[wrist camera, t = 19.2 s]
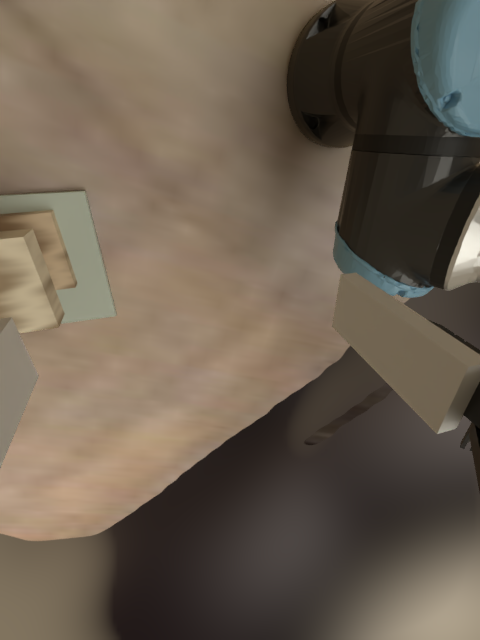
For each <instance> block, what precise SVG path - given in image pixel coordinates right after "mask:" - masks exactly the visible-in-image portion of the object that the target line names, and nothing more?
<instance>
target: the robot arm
mask: <svg viewBox="0 0 480 640" xmlns="http://www.w3.org/2000/svg"><path fill="white" fill-rule="evenodd" d="M287 93H288V101H289V106H290V110H291V113H292V116H293V118H294V120H295V122H296V124H297V126H298V127H299V129H300V130H301V132H302V133H303V134H304V135H305V136H306V137H307V138H308V139H310V140H311V141H313V142H314V143H316V144H319V145H321V146H326V147H335V148H341V147H348V146H352V145H353V147H352V151H351V156H350V161H349V166H348V171H347V176H346V181H345V186H344V191H343V196H342V201H341V206H340V211H339V216H338V220H337V222H336V224H335V233H336V235H335V242H334V249H333V256H334V260H335V262H336V264H337V265H338V267H339V269H340V270H341V271H342V272H343V273H344V274H341V276H340V282H339V288H338V294H337V300H336V306H335V312H334V318H333V324H332V327H333V328H334V329H335V330H336V331H337V332H338V333H339V334H340V335H341V336H342V337H343V338H344V339H345V340H346V341H347V342H348V343H349V344H350V345H351V346H352V347H353V348H354V349H355V350H356V351H357V352H358V353H359V355H361V356H362V358H363V359H365V361H366V362H367V363H368V364H369V365H370V366H371V367H372V368H373V369H374V370H375V371H376V372H377V373H378V374H379V375H380V376H381V377H382V378H383V379H384V380H385V381H386V382H387V383H388V384H389V385H390V386H391V387H392V388H393V389H394V390H395V391H396V392H397V394H399V395H400V397H401V398H402V399H403V400H404V401H405V402H406V403H407V404H408V405H409V406H410V407H411V408H412V409H413V410H414V411H415V412H416V413H417V414H418V415H419V416H420V417H421V418H422V419H423V420H424V421H425V422H426V423H427V424H428V425H429V426H430V427H431V428H432V429H433V430H434V431H435V432H436V434H439V433H442V432H446V431H450V430H453V429H457V427H458V425H459V423H460V421H461V419H462V417H463V415H464V416H466V417H467V418H468V419H469V420H470V421H471V422H472V423H471V425H470V427H469V428H468V430H467V432H466V434H465V436H464V438H463V439H462V441H461V445H460V447H461V448H463V449H464V448H465V446H466V444H467V443H468V442H471V449H470V451H472V453H473V458H474V464H475V470H476V475H477V481H478V486H479V491H480V350H479V349H477V348H476V347H474V346H473V345H471V344H470V343H468V342H465V341H464V339H462V338H460V337H459V336H457V335H454V333H453V332H451V331H450V330H448V329H447V328H445V327H444V326H442V325H440V324H437V323H435V322H432V321H430V320H427V319H425V318H424V317H422V316H421V315H419V314H418V313H416V312H415V311H413V310H412V309H410V308H409V307H407V306H406V305H404V304H403V303H401V302H400V301H398V300H396V299H395V298H393V297H392V296H394V295H396V294H398V295H400V296H402V297H407V298H412V297H418V296H423V295H425V294H427V293H428V292H429V291H430V290H431V289H433V288H434V287H437V288H441V289H444V290H452V289H454V288H457V287H459V286H462V285H464V284H467V283H471V282H480V163H479V162H480V0H336V1H334V2H332V3H331V4H329V5H328V6H326V7H325V8H323V9H322V10H321V11H319V12H318V13H317V14H316V15H315V16H314V17H313V18H312V19H311V20H310V21H309V22H308V24H307V25H306V26H305V28H304V29H303V31H302V32H301V34H300V36H299V38H298V40H297V42H296V44H295V47H294V49H293V52H292V55H291V59H290V63H289V68H288V77H287ZM390 295H392V296H390ZM38 376H39V375H38V373H37V371H36V369H35V367H34V364H33V362H32V360H31V358H30V356H29V353H28V351H27V349H26V347H25V345H24V343H23V340H22V338H21V336H20V334H19V332H18V330H17V327H16V325H15V323H14V321H13V319H12V317H9V318H2V319H0V467H1V465H2V463H3V460H4V458H5V455H6V453H7V451H8V448H9V446H10V443H11V441H12V439H13V436H14V434H15V431H16V429H17V427H18V424H19V422H20V419H21V417H22V415H23V412H24V410H25V408H26V405H27V403H28V400H29V398H30V396H31V393H32V391H33V388H34V386H35V384H36V381H37V379H38Z"/></svg>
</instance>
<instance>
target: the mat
mask: <svg viewBox="0 0 480 640" xmlns="http://www.w3.org/2000/svg"><path fill="white" fill-rule="evenodd" d="M46 210H53V211H54V214H55V217H56V220H57V223H58V226H59V229H60V232H61V235H62V238H63V241H64V244H65V247H66V250H67V253H68V256H69V259H70V262H71V265H72V268H73V271H74V274H75V277H76V280H77V286H76V288H68V289H61V290H56V292H57V295H58V298H59V300H60V303H61V306H62V308H63V311H64V317H63V319H62V322H61V324H62V323H70V322H77V321H84V320H91V319H99V318H106V317H113V316H116V315H117V313H116V309H115V305H114V301H113V297H112V293H111V289H110V285H109V281H108V277H107V274H106V270H105V266H104V262H103V258H102V254H101V250H100V246H99V242H98V238H97V234H96V230H95V226H94V222H93V218H92V214H91V210H90V207H89V203H88V199H87V195H86V191H85V190H84V191H65V192H47V193H29V194H10V195H0V214H9V213H21V212H34V211H46Z"/></svg>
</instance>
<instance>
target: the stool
mask: <svg viewBox="0 0 480 640" xmlns="http://www.w3.org/2000/svg"><path fill="white" fill-rule="evenodd" d="M76 286H77V280H76V277H75V274H74V271H73V268H72V265H71V262H70V259H69V256H68V253H67V250H66V247H65V244H64V241H63V238H62V235H61V232H60V229H59V226H58V223H57V220H56V217H55V214H54V211H53V210H46V211H34V212H21V213H9V214H0V319H2V318H9V317H12V319H13V321H14V323H15V325H16V327H17V330H18V332H19V333H25V332H31V331H38V330H44V329H51V328H57V327H59V326H60V324H61V322H62V319H63V317H64V311H63V308H62V306H61V303H60V300H59V298H58V295H57V292H56V290H61V289H68V288H76Z"/></svg>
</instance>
